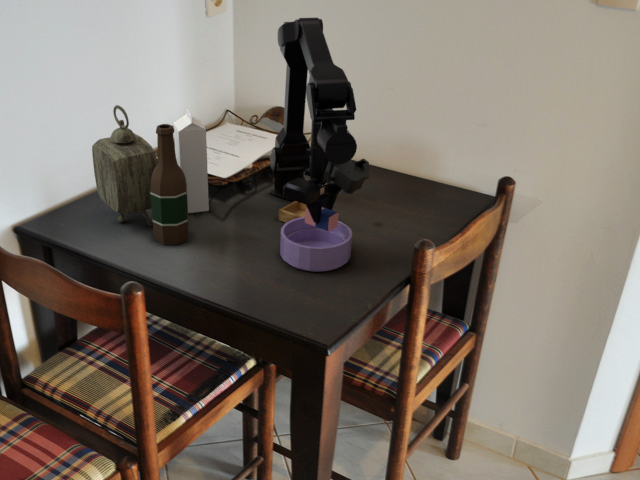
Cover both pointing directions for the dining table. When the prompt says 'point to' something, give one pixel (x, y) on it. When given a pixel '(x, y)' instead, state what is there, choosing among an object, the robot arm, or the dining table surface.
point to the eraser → (323, 219)
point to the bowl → (315, 246)
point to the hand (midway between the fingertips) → (321, 220)
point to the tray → (292, 211)
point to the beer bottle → (168, 192)
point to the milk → (193, 160)
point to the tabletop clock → (124, 170)
